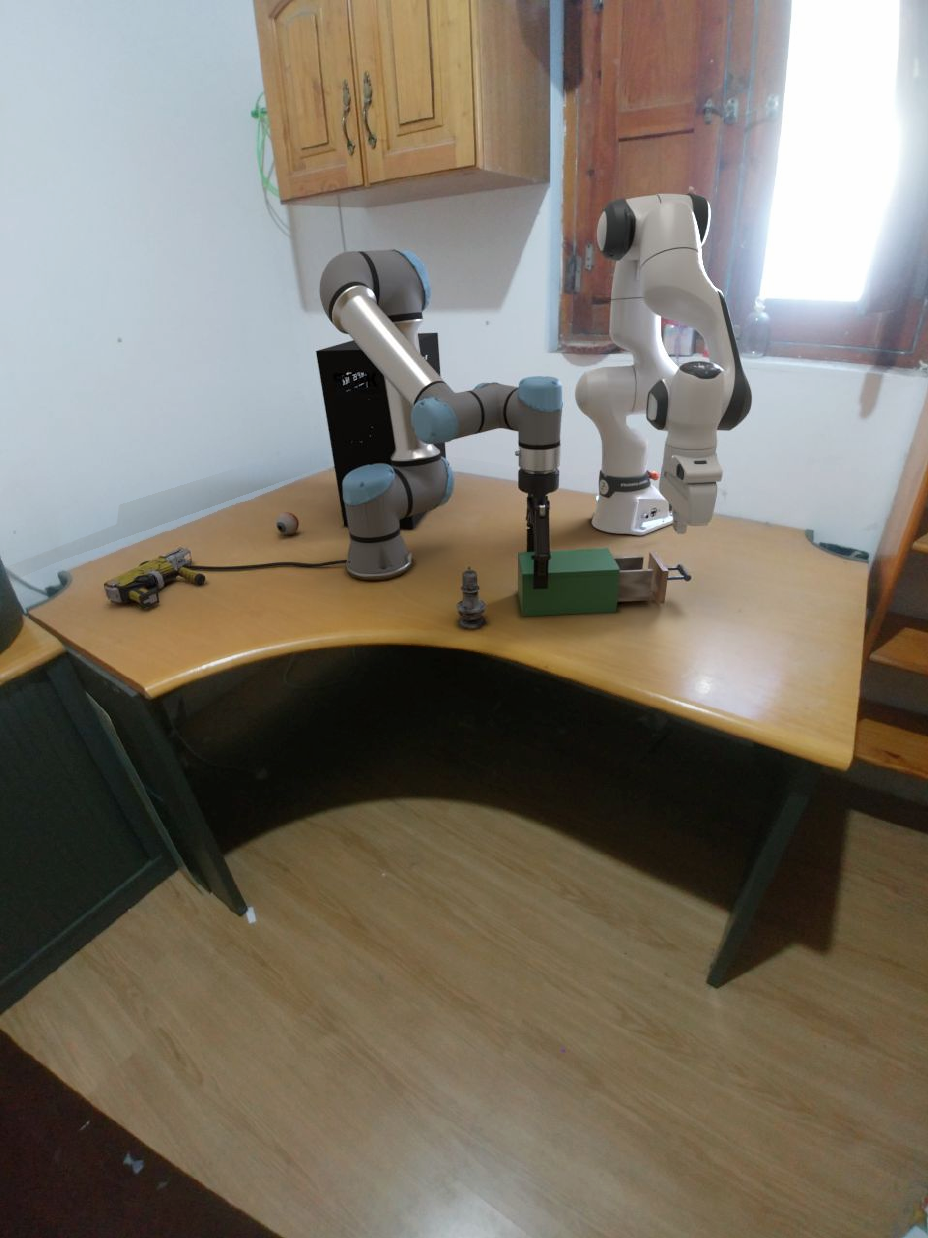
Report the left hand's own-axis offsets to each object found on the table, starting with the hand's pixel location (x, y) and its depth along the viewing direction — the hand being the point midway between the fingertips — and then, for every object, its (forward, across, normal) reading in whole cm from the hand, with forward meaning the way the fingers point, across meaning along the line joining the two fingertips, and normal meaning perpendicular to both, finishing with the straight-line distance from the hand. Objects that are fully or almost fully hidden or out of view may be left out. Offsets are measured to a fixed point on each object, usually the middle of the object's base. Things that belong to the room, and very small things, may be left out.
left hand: (536, 572), depth 121 cm
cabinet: (+7, 0, +6) cm, 9 cm away
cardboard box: (+8, -65, -34) cm, 74 cm away
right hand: (-8, 0, +27) cm, 28 cm away
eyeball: (+8, -45, -63) cm, 78 cm away
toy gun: (+8, -16, -83) cm, 85 cm away
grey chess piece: (+7, +7, -13) cm, 17 cm away
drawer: (+6, 0, +19) cm, 20 cm away
